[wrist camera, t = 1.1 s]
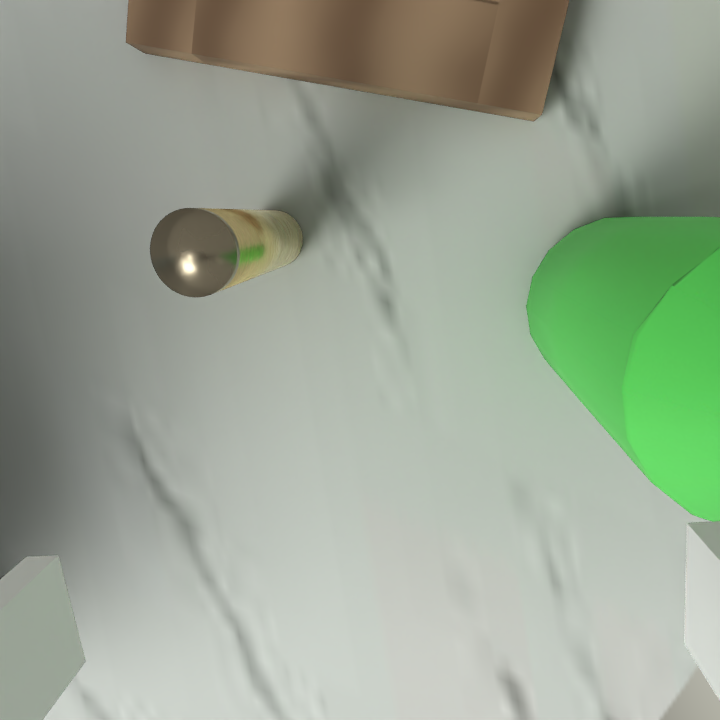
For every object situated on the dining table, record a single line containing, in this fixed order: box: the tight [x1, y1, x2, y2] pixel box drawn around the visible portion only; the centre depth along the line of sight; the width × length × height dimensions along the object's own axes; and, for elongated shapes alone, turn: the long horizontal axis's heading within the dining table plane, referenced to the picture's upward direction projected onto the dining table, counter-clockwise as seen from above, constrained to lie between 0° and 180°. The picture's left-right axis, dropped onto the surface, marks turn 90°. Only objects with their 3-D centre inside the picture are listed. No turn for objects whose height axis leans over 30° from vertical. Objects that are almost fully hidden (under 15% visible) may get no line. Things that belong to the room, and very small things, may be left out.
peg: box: [150, 208, 303, 297], centre depth 26 cm, size 3×3×12 cm
